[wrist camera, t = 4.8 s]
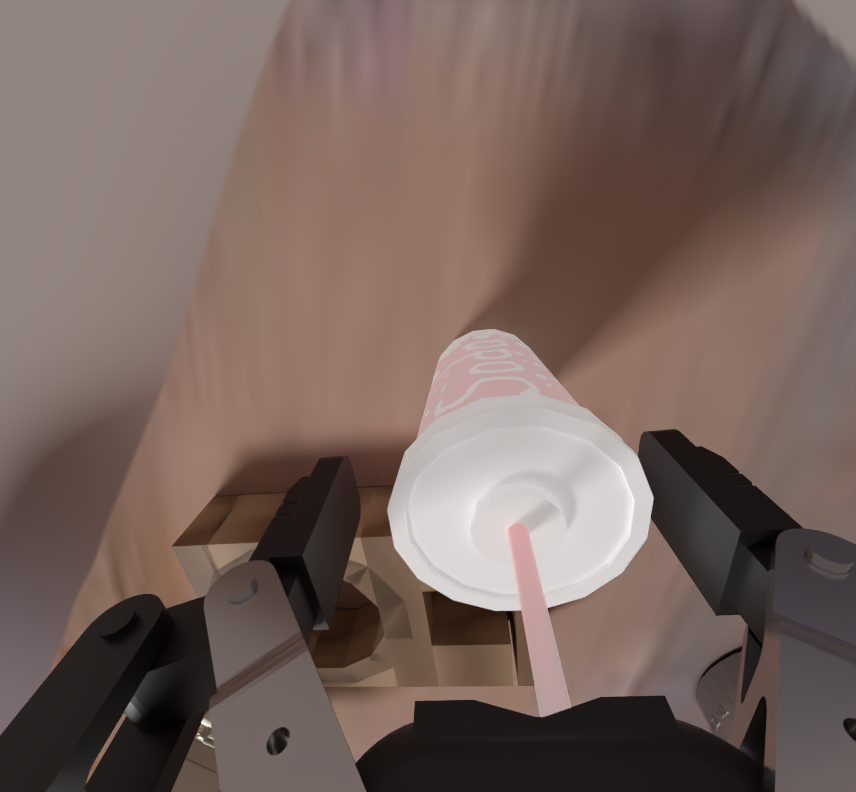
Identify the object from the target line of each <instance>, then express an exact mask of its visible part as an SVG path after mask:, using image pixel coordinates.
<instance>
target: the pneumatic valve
mask: <svg viewBox="0 0 856 792" xmlns="http://www.w3.org/2000/svg"><path fill="white" fill-rule="evenodd" d="M201 723H202V724H204V725H206V726H208V728H207V727H205V726H204V727H203V728H200V729H199V731H198V733H197V734H198V737H197V738H198V739H200V741H198V740H196V739H194V740H193V743H192V745H191V747H190V749H189V752H188V754H187V756H186V759H185V761H184V763H183V766H182V768H181V770H180V773H179V775H178V777H177V780H176V782H175V784H174V786H173V789H172V791H171V792H220V785H219V778H218V771H217V763H216V756H215V749H214V742H213V734H212V727H211V720H210V712H209V710H207V711H206V713H205V715H204V717H203V719H202V722H201Z"/></svg>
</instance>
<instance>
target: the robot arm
mask: <svg viewBox="0 0 856 792" xmlns="http://www.w3.org/2000/svg"><path fill="white" fill-rule="evenodd" d="M638 458H639V461H640V463H641V466H642V469H643V471H644V474H645V476H646V479H647V481H648V484H649V487H650V489H651V492H652V494H653V497H654V500H653V506H652V512H651V519H652V520H653V522H654V523H655V525H656V526H657V528H658V529H659V531H660V532H661V534H662V535H663V537H664V538H665V540H666V541H667V543H668V544H669V546H670V547H671V549H672V550H673V552H674V553H675V555H676V556H677V558H678V559H679V561H680V562H681V564H682V565H683V567H684V568H685V570H686V571H687V573H688V574H689V576H690V577H691V578H692V580H693V581H694V583H695V584H696V586H697V587H698V589H699V590H700V592H701V593H702V595H703V596H704V598H705V599H706V601H707V602H708V604H709V605H710V607H711V608H712V610H713V611H714V613H715V614H716V616H718V615H741V617H742V618H743V620H744V621H745V622H746V624H747V626H746V629H745V632H744V636H743V645H742V651H741V652H739V653H736V654H733V655H731V656H730V657H728V658H726V659H724V660H722V661H720V662H719V663H718V664H716V665H715V666H714V667H712V668H711V669H710V670H708V672H707V673H706V674H705V675H704V676H703V677H702V679H701V680H700V682H699V684H698V687H697V691H696V698H697V701H698V705H699V707H700V709H701V711H702V713H703V715H704V716H705V718H706V720H707V722H708V724H709V726H710V728H711V732H712V734H711V733H709V732H707V731H705V730H703V729H701V728H699V727H696V726H694V725H691V724H689V723H686V722H683V721H680V720H676V719H675V717H674V715H673V713H672V711H671V708H670V706H669V704H668V702H667V699H666V697H665V696H628V697H600V698H597V699H594V700H591V701H588V702H585V703H582V704H580V705H577V706H574V707H571V708H568V709H565V710H562V711H559V712H557V713H554V714H551V715H548V716H545V717H534V716H530V715H526V714H522V713H519V712H515V711H512V710H508V709H505V708H501V707H497V706H494V705H490V704H487V703H483V702H479V701H476V700H447V701H415V709H414V722H413V723H410V724H407V725H405V726H403V727H401V728H399V729H397V730H395V731H393V732H391V733H390V734H388V735H387V736H385V737H384V738H382V739H381V740H380V741H378V742H377V743H376V744H375V745H373V746H372V747H371V748H370V749H369V750H368V751H367V752H366V753H364V755H363V756H362V757H361V758H360V759H359V760H358V761H357V762H356V763H355V761H354V758H353V756H352V754H351V751H350V749H349V746H348V744H347V741H346V739H345V737H344V734H343V732H342V729H341V727H340V724H339V722H338V720H337V717H336V715H335V712H334V710H333V707H332V705H331V702H330V700H329V698H328V695H327V693H326V690H325V688H324V685H323V683H322V681H321V678H320V676H319V673H318V671H317V668H316V666H315V663H314V661H313V659H312V656H311V654H310V651H309V649H308V643H309V640H310V637H311V633H312V630H327V629H329V628H330V625H331V621H332V618H333V614H334V611H335V607H336V603H337V600H338V596H339V593H340V589H341V586H342V582H343V578H344V575H345V571H346V568H347V564H348V561H349V557H350V554H351V550H352V546H353V543H354V539H355V536H356V532H357V529H358V525H359V521H360V516H361V503H360V497H359V493H358V489H357V485H356V481H355V477H354V474H353V470H352V466H351V462H350V459H349V458H348V456H337V457H325V458H320V459H319V461H318V462H317V464H316V466H315V468H314V470H313V472H312V474H311V476H308V477H302V478H301V479H300V480H299V481H298V482H297V483H296V484H295V485H293V486H292V487H291V488H290V489H289V490H288V492H287V494H286V496H285V497H284V499H283V501H282V503H281V506H279V508H278V510H277V512H276V513H275V518H273V519H272V520H271V522H270V524H269V526H268V527H267V529H266V531H265V533H264V535H263V536H262V538H261V540H260V542H259V543H258V545H257V547H256V549H255V550H254V552H253V554H252V556H251V557H250V559H249V561H248V562H245V563H242V564H240V565H238V566H235V567H234V568H232V569H230V570H229V571H227V572H226V573H224V574H223V575H222V576H221V577H220V578H218V579H217V581H216V582H215V583H214V584H213V585H212V586H211V588H210V589H209V591H208V593H207V595H206V596H203V597H200V598H197V599H194V600H191V601H188V602H185V603H182V604H179V605H176V606H173V607H170V608H167V609H166V608H165V606H164V604H163V603H162V601H161V600H160V598H159V597H158V596H156V595H153V594H142V595H137V596H134V597H131V598H128V599H126V600H124V601H122V602H120V603H118V604H116V605H114V606H113V607H111V608H110V609H108V610H107V611H105V612H104V613H103V614H101V615H100V616H99V617H98V618H97V619H96V620H95V621H94V622H92V623H91V624H90V626H89V627H88V628H87V629H86V630H85V631H84V633H83V634H82V635H81V636H80V638H79V639H78V640H77V641H76V642H75V644H74V645H73V646H72V647H71V649H70V650H69V651H68V652H67V654H66V655H65V656H64V657H63V659H62V660H61V661H60V662H59V664H58V665H57V666H56V667H55V668H54V670H53V671H52V672H51V673H50V675H49V676H48V677H47V678H46V680H45V681H44V682H43V683H42V685H41V686H40V687H39V688H38V690H37V691H36V692H35V693H34V695H33V696H32V697H31V698H30V699H29V701H28V702H27V703H26V704H25V706H24V707H23V708H22V709H21V711H20V712H19V713H18V714H17V715H16V717H15V718H14V719H13V721H12V722H11V723H10V724H9V725H8V727H7V728H6V729H5V730H4V732H3V733H2V734H1V735H0V792H171V791H172V789H173V786H174V784H175V782H176V780H177V777H178V775H179V773H180V770H181V768H182V766H183V763H184V761H185V759H186V756H187V754H188V752H189V749H190V747H191V745H192V743H193V740H194V738H195V736H196V733H197V731H198V729H199V726H200V724H201V722H202V719H203V717H204V715H205V713H206V711H207V710H209V712H210V720H211V727H212V734H213V742H214V749H215V756H216V763H217V771H218V778H219V785H220V792H856V545H855V544H853V543H851V542H849V541H847V540H845V539H843V538H840V537H838V536H835V535H832V534H829V533H826V532H822V531H818V530H812V529H804V528H802V527H801V526H800V525H799V524H798V523H797V522H796V521H795V520H793V519H792V518H791V517H790V516H789V515H788V514H787V513H786V512H784V511H783V510H782V509H781V508H780V507H779V506H778V505H776V504H775V503H774V502H773V501H772V500H771V499H770V498H769V497H767V496H766V495H765V494H764V493H763V492H762V491H761V490H760V489H758V488H757V487H756V486H753V485H752V482H751V481H749V480H748V479H747V478H746V477H745V476H744V475H743V474H739V471H738V470H737V469H736V468H735V467H734V466H732V465H731V464H730V463H729V462H728V461H727V460H726V459H725V458H723V457H722V456H720V455H718V454H716V453H714V452H712V451H710V450H708V449H706V448H704V447H702V446H700V447H696V446H695V445H694V444H692V443H691V442H690V441H689V440H688V439H687V438H686V437H685V436H684V435H683V434H682V433H681V432H680V431H678V430H676V429H671V430H659V431H647V432H644V433H643V434H642V435H641V438H640V444H639V452H638ZM123 713H125V714H126V718H125V720H124V721H123V723H122V725H121V726H120V728H119V730H118V732H117V733H116V735H115V737H114V738H113V740H112V742H111V743H110V745H109V747H108V749H107V750H106V752H105V754H104V755H103V757H102V759H101V761H100V762H99V764H98V766H97V767H96V769H95V771H94V772H93V774H92V776H91V778H90V779H89V781H88V783H87V784H86V781H87V777H88V774H89V772H90V769H91V767H92V765H93V763H94V761H95V759H96V758H97V756H98V754H99V753H100V751H101V749H102V748H103V746H104V744H105V743H106V741H107V739H108V738H109V736H110V734H111V733H112V731H113V729H114V728H115V726H116V724H117V723H118V721H119V719H120V718H121V716H122V714H123Z"/></svg>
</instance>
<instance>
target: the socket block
mask: <svg viewBox="0 0 856 792" xmlns="http://www.w3.org/2000/svg"><path fill="white" fill-rule="evenodd" d="M393 488H394V486H383V487H367V488H357V489H358V493H359V497H360V503H361V516H360V521H359V525H358V529H357V532H356V536H355V539H354V543H353V546H352V550H351V554H350V557H349V561H348V564H347V568H346V571H345V575H344V578H343V580H344V581H347V582H350V583H351V584H353V585H354V586H355V587H356V588H357V589H358V590H359V591H360V592H361V593H363V594H364V595H365V596H366V597H367V598H368V599H369V600H370V601H371V603H369V604H367V605H365V606H362V607H360V608H358V609H335V611H334V614H333V618H332V621H331V625H330V628H329V629H327V630H312V633H311V637H310V640H309V643H308V649H309V651H310V654H311V656H312V659H313V661H314V663H315V666H316V668H317V671H318V673H319V676H320V678H321V681H322V683H323V685H324V687H424V686H513V675H512V653H511V640H510V633H509V626H508V618H507V611H494V610H490V609H486V608H482V607H478V606H474V605H470V604H466V603H462V602H458V601H454V600H452V599H450V598H449V597H447V596H445V595H444V594H442V593H440V592H439V591H437V590H436V589H434V588H432V587H431V586H429V585H427V584H426V583H424V582H422V581H421V580H419V579H418V578H417V577H416V576H415V574H414V573H413V572H412V570H411V569H410V568H409V566H408V565H407V564H406V562H405V561H404V560H403V558H402V557H401V556H400V555H399V553H398V552H397V551H396V549H395V548H394V543H393V538H392V533H391V528H390V522H389V517H388V512H387V509H388V504H389V501H390V497H391V494H392V491H393ZM286 494H287V492H285V493H268V494H252V495H235V496H219V497H213V499H212V500H211V501H210V502H209V503H208V504H207V506H206V507H205V508H204V509H203V510H202V511H201V513H200V514H199V515H198V516H197V517H196V518H195V520H194V521H193V522H192V523H191V524H190V525H189V527H188V528H187V529H186V530H185V531H184V533H183V534H182V535H181V536H180V537H179V538H178V540H177V541H176V542H175V543H174V544H173V545H172V549H173V550H174V552H175V554H176V556H177V558H178V560H179V562H180V564H181V566H182V568H183V569H184V571H185V573H186V575H187V577H188V579H189V581H190V583H191V585H192V586H193V588H194V590H195V592H196V594H197V596H198V598H200V597H203V596H206V595H207V593H208V591H209V589H210V588H211V586H212V585H213V584H214V583H215V582H216V581H217V579H218V578H220V577H221V576H222V575H223V574H224V573H226V572H227V571H229V570H230V569H232V568H234V567H235V566H238V565H240V564H242V563H245V562H248V561H249V559H250V557H251V556H252V554H253V552H254V550H255V549H256V547H257V545H258V543H259V542H260V540H261V538H262V536H263V535H264V533H265V531H266V529H267V527H268V526H269V524H270V522H271V520H272V519H273V518H275V513H276V512H277V510H278V508H279V506H281V503H282V501H283V499H284V497H285V496H286ZM509 616H510V628H511V635H512V642H513V650H514V657H515V664H516V671H517V678H518V685H519V686H535V685H534V679H533V673H532V668H531V662H530V656H529V651H528V645H527V639H526V634H525V628H524V622H523V617H522V611H521V610H516V611H509Z"/></svg>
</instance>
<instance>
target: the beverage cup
mask: <svg viewBox="0 0 856 792" xmlns="http://www.w3.org/2000/svg"><path fill="white" fill-rule="evenodd" d="M653 500H654V497H653V494H652V492H651V489H650V487H649V484H648V481H647V479H646V476H645V474H644V471H643V469H642V466H641V463H640V461H639V458H638V456H637V455H636V454H635V453H634V451H633V450H632V449H631V448H630V447H628V446H627V445H626V444H625V443H624V442H623V440H622V438H621V437H620V436H618V435H617V434H616V433H615V432H614V431H612V430H611V429H610V428H609V427H608V426H607V425H605V424H604V423H603V422H602V421H601V420H599V419H598V418H597V417H596V416H595V415H593V414H592V413H591V412H590V411H589V410H588V409H586V408H583V407H580V406H579V405H578V404H577V403H576V401H575V400H574V399H573V398H572V397H571V396H570V394H569V393H568V392H567V391H566V390H565V389H564V387H563V386H562V385H561V384H560V383H559V382H558V380H557V379H556V378H555V377H554V376H553V375H552V373H551V372H550V371H549V370H548V369H547V368H546V367H545V365H544V364H543V363H542V362H541V361H540V360H539V358H538V357H537V356H536V355H535V354H534V353H533V351H532V350H531V349H530V348H529V347H528V346H527V345H525V344H524V343H523V342H522V341H521V340H520V339H518V338H517V337H516V336H515V335H513V334H509V333H506V332H503V331H499V330H496V329H488V330H477V331H472V332H470V333H468V334H466V335H464V336H462V337H460V338H458V339H456V340H454V341H453V342H452V343H451V344H450V345H449V347H448V348H447V349H446V350H445V351H444V352H443V354H442V355H441V356H440V359H439V362H438V365H437V368H436V371H435V375H434V378H433V382H432V386H431V389H430V393H429V396H428V400H427V404H426V407H425V411H424V414H423V418H422V422H421V425H420V429H419V432H418V436H417V439H416V440H415V442H414V443H413V444H412V445H411V446H410V447H409V448H408V449H407V450H406V451H405V453H404V456H403V459H402V462H401V466H400V469H399V472H398V475H397V478H396V481H395V485H394V488H393V491H392V494H391V497H390V501H389V504H388V509H387V512H388V517H389V522H390V528H391V533H392V538H393V543H394V548H395V549H396V551H397V552H398V553H399V555H400V556H401V557H402V558H403V560H404V561H405V562H406V564H407V565H408V566H409V568H410V569H411V570H412V572H413V573H414V574H415V576H416V577H417V578H418V579H419V580H421V581H422V582H424V583H426V584H427V585H429V586H431V587H432V588H434V589H436V590H437V591H439V592H440V593H442V594H444V595H445V596H447V597H449V598H450V599H452V600H454V601H458V602H462V603H466V604H470V605H474V606H478V607H482V608H486V609H490V610H494V611H516V610H521V611H522V617H523V622H524V628H525V634H526V639H527V645H528V651H529V656H530V662H531V668H532V673H533V679H534V685H535V690H536V696H537V702H538V707H539V713H540V717H545V716H548V715H551V714H554V713H557V712H559V711H562V710H565V709H568V708H571V703H570V699H569V694H568V690H567V686H566V682H565V678H564V674H563V670H562V666H561V662H560V658H559V654H558V649H557V645H556V641H555V637H554V633H553V629H552V625H551V621H550V617H549V613H548V608H549V607H553V606H556V605H560V604H563V603H566V602H570V601H573V600H577V599H580V598H583V597H586V596H587V595H589V594H590V593H592V592H593V591H595V590H596V589H598V588H599V587H601V586H602V585H604V584H606V583H607V582H609V581H610V580H612V579H613V578H615V577H616V576H618V575H619V574H621V573H622V572H623V571H624V569H625V568H626V567H627V565H628V564H629V562H630V561H631V560H632V558H633V557H634V556H635V554H636V553H637V551H638V550H639V549H640V547H641V546H642V545H643V543H644V542H645V540H646V539H647V536H648V530H649V524H650V518H651V512H652V506H653Z"/></svg>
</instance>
